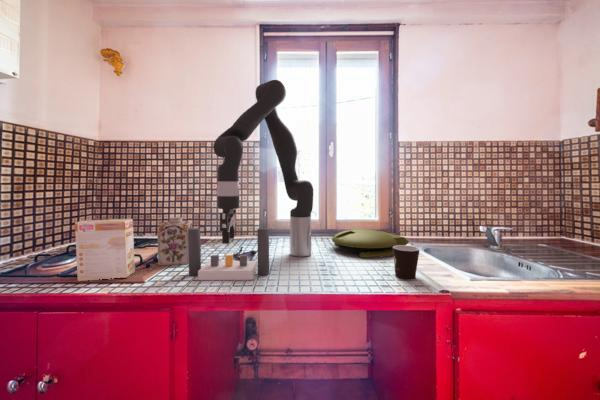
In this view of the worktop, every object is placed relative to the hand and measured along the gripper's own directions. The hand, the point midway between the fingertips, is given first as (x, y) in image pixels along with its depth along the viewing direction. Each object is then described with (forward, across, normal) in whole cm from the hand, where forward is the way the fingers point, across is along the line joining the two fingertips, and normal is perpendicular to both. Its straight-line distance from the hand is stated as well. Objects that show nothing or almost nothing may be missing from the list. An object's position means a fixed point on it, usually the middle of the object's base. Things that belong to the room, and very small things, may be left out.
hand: (228, 240), depth 99 cm
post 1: (+12, 0, +12) cm, 17 cm away
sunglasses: (+12, +21, -2) cm, 24 cm away
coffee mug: (+12, -3, -62) cm, 63 cm away
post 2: (+12, 0, -12) cm, 17 cm away
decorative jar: (+12, +17, +25) cm, 33 cm away
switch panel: (+12, 0, 0) cm, 12 cm away
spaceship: (+12, +36, -59) cm, 70 cm away
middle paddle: (+9, 0, 0) cm, 9 cm away
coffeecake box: (+12, -2, +41) cm, 43 cm away
